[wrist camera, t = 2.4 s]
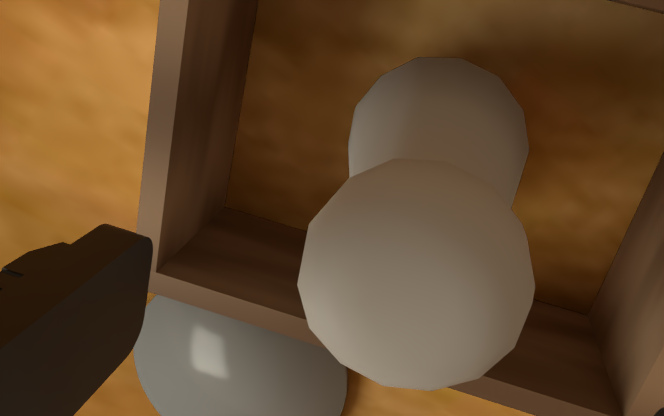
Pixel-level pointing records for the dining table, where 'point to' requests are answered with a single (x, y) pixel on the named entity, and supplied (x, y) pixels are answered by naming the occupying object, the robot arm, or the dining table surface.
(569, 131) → the dining table surface
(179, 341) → the slate coaster
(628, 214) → the dining table surface
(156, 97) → the walnut box
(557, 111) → the dining table surface
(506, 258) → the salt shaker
